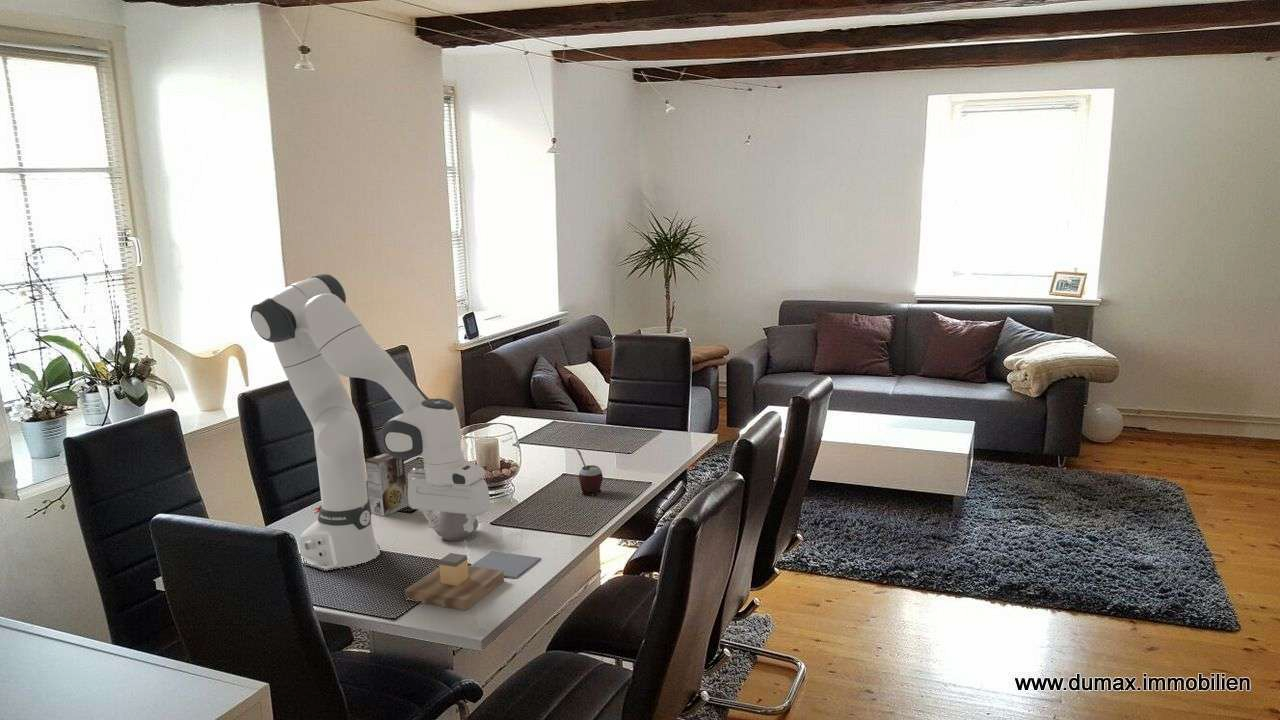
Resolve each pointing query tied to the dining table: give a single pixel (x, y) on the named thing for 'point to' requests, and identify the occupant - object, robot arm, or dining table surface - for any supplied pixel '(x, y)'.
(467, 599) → the wooden socket board
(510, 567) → the slate mat
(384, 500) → the coffee box
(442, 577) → the plug
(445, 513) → the coffee pot
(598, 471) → the mate gourd
